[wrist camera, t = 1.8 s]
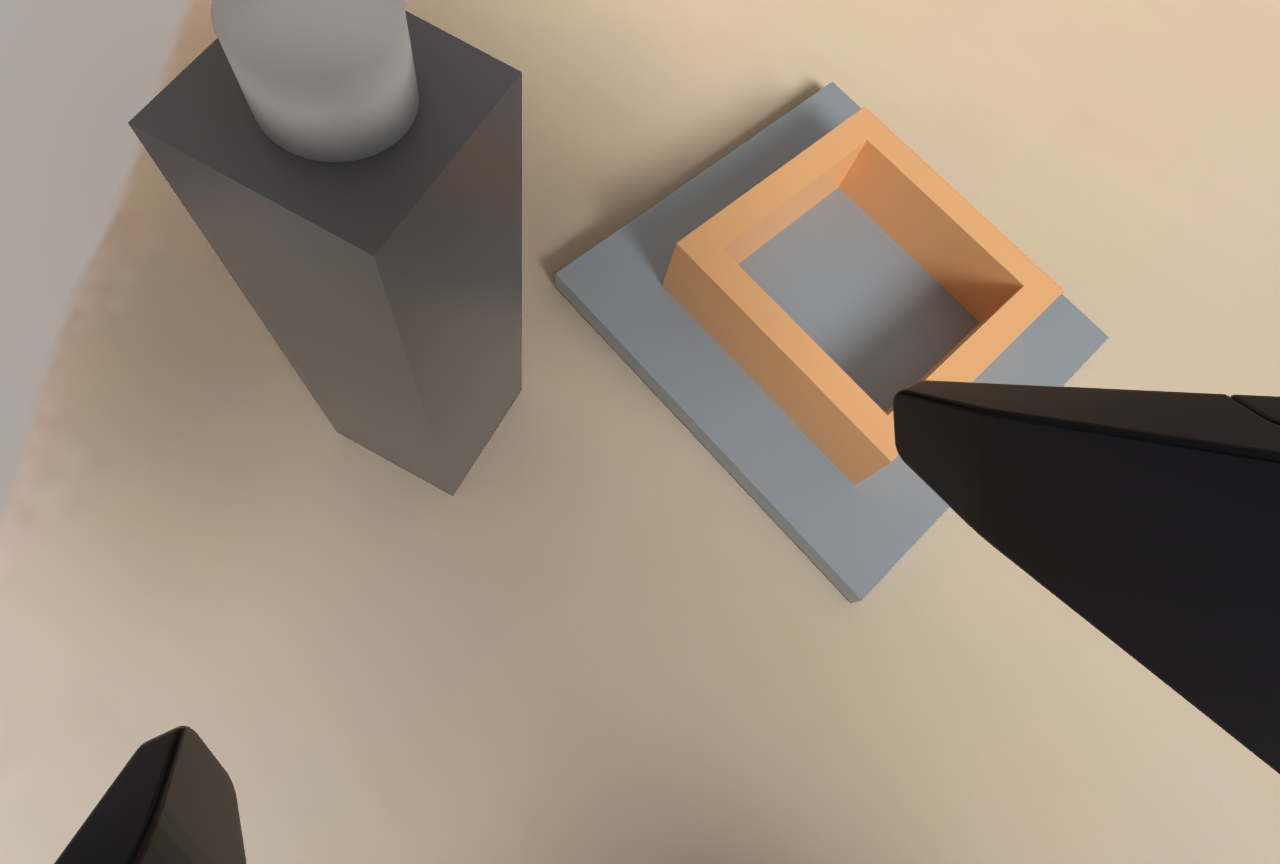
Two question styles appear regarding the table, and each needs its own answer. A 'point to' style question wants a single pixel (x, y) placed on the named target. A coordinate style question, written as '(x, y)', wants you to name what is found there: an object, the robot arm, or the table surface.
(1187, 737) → the table surface
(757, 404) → the holder
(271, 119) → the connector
